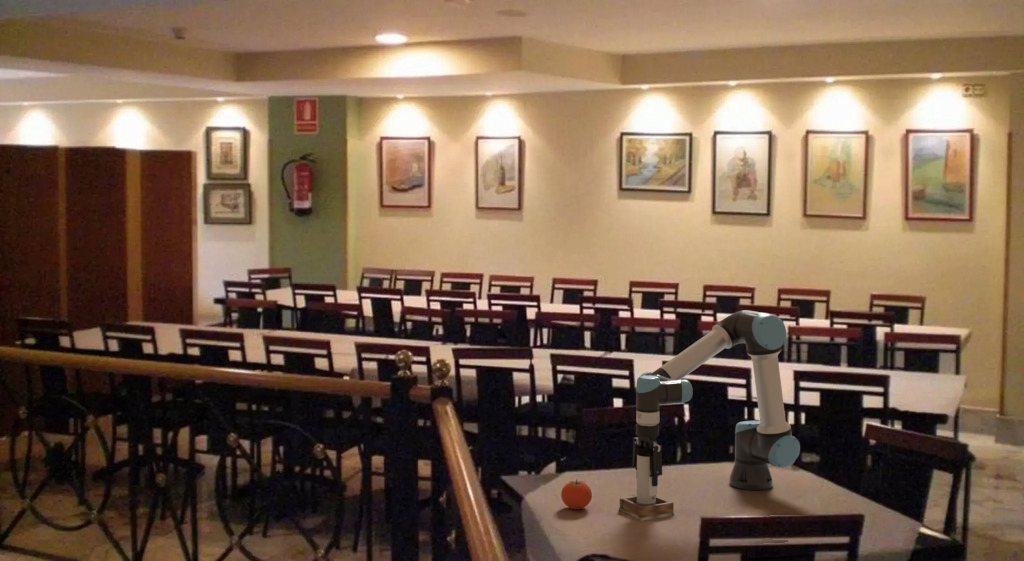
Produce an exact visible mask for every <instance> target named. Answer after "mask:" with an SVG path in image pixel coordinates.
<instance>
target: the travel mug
mask: <svg viewBox="0 0 1024 561" xmlns="http://www.w3.org/2000/svg"><path fill="white" fill-rule="evenodd" d="M653 452H654V450H653V448H652V449H650V448H649V449H645V448H640V447H639V446H638V448H637V462H636V463H637V471H636V473H637V478H636V496H637V504H638V505H640V506H642V507H644V506H650V505H655V504H656V496H657V495H655V496H649V475H651V474H650V468H649V458H650V457H649V455H648V453H649V454H651V456H653Z"/></svg>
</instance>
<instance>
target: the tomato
mask: <svg viewBox="0 0 1024 561" xmlns="http://www.w3.org/2000/svg"><path fill="white" fill-rule="evenodd" d="M592 494H593V492H592V489H591V488H590V486H589V485H588V484H587V483H586V482H585V481H582V480H581V481H578V479H577V478H576V480H575V481H573V480H571V481H569V482H568V483H566V484H564V486H563V487H562V489H561V494H560V496H561V497H560V498H561V500H562V503H563V504H564V505H565V506H567V507H568V508H569V509H572V510H581V509H584V508H586V507H587V506H588V505H589V504H591V503H590V502H592V497H593V495H592Z"/></svg>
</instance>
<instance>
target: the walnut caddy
mask: <svg viewBox="0 0 1024 561" xmlns="http://www.w3.org/2000/svg"><path fill="white" fill-rule="evenodd" d="M674 505H675V504H674V502H673V501H670V500H667V499H665V498H662V497H659V496H658V495H656V504H655V505H650V506H644V507H642V506H640V505H638V504H637V495H634V496H633V495H632V496H627V497H621V498H619V507H618V511H620V512H622V513H624V512H625V514H626V513H627V515H628V514H629V516H630V517H633V518H634V519H637V520H639V521H642V522H643V521H648V520H654V519H659V518H665V517H670V516H675V512H674V507H675V506H674Z"/></svg>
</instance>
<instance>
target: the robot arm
mask: <svg viewBox="0 0 1024 561" xmlns="http://www.w3.org/2000/svg"><path fill="white" fill-rule="evenodd" d="M786 328H787V327H786V326H785V323H784V321H782V319H781V318H779V317H778V316H777V315H774V314H771V313H768V312H761V311H760V312H759V311H754V310H750V309H746V310H744V309H742V310H739V311H736V312H733V313H731V314H730V315H728V316H726V317H725V318H723V319H721V320H720V321H719V322H717V323H716V324H714V325H712V328H711V331H709V332H708V333H707V334H705V335H704V336H703V337H702V336H701V337H700V339H698V340H697V341H695V342H693V344H691V345H689V346H688V347H686V348H685V349H684V350H683V351H681V352H679V354H677V355H675V356H674V357H673V358H671V359H670V360H668V361H667V362H665V363H664V364H663V365H661V366H660V367H659V368H657V369H655V370H654V371H653V372H651V371H650V372H649V371H648V372H647V371H646V372H643V373H642V374H641V375H640V376H638V378H637V379H636V385H635V386H636V387H635V388H636V389H635V393H636V394H635V396H636V398H635V399H636V400H635V403H636V404H635V406H636V407H635V410H636V412H635V413H636V414H635V415H636V419H635V422H636V423H635V435H636V436H638V437H633V438H632V444H633V445H632V462H631V463H632V465H631V466H632V468H635V471H636V475H635V476H636V479H637V448H638V446H639V447H640V448H645V449H649V448H650V449H652V448H653V450H654V452H653V456H651V454H649V453H648V455H649V457H650V458H649V468H650V474H651V475H649V496H655V495H656V496H658V486H659V485H658V484H659V480H658V478H659V476H663V459H662V457H663V455H662V452H663V449H664V448H663V445H662V444H658V441H657V437H658V436H659V435H660V425H659V423H660V406H661V405H668V404H669V405H671V404H679V403H680V404H682V403H687V402H690V401H691V399H692V398H693V390H694V389H693V386H692V384H691V382H690V381H689V380H688V379H683V378H685V377H686V376H688V375H689V374H691V373H692V372H693V371H695V370H696V369H698V368H699V367H700V366H702V365H703V364H705V363H706V362H708V361H709V360H711V359H712V358H714V356H716V355H718V354H719V353H720V352H722V351H723V350H724V349H726V350H727V349H728V350H729V349H731V348H733V347H734V346H736V345H738V344H743V345H744V344H745V348H746V354H747V355H748V356H749V357H751V358H752V366H753V374H754V384H755V392H756V399H757V409H758V414H759V415H758V416H759V420H745V421H740V422H737V423H736V424H735V430H734V464H733V466H732V469H731V471H730V476H729V483H728V484H729V485H730V486H732V487H733V488H734V487H735V488H737V489H740V490H747V491H748V490H749V491H763V490H768V489H771V488H773V477H772V474H771V471H770V466H769V465H771V467H772V466H773V467H777V468H782V469H783V468H788V467H790V466H792V465H793V464H794V463H795V462H796V460H797V459H798V457H799V456H800V452H801V444H800V441H799V439H797V438H796V437H795V436H794V435H792V427H791V424H790V423H788V422H787V421H786V414H785V405H784V397H783V389H782V380H781V372H780V371H781V370H780V365H779V364H780V363H779V357H778V356H779V354H780V353H781V352H782V346H783V345H784V343H785V340H786V339H787V329H786Z"/></svg>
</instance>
